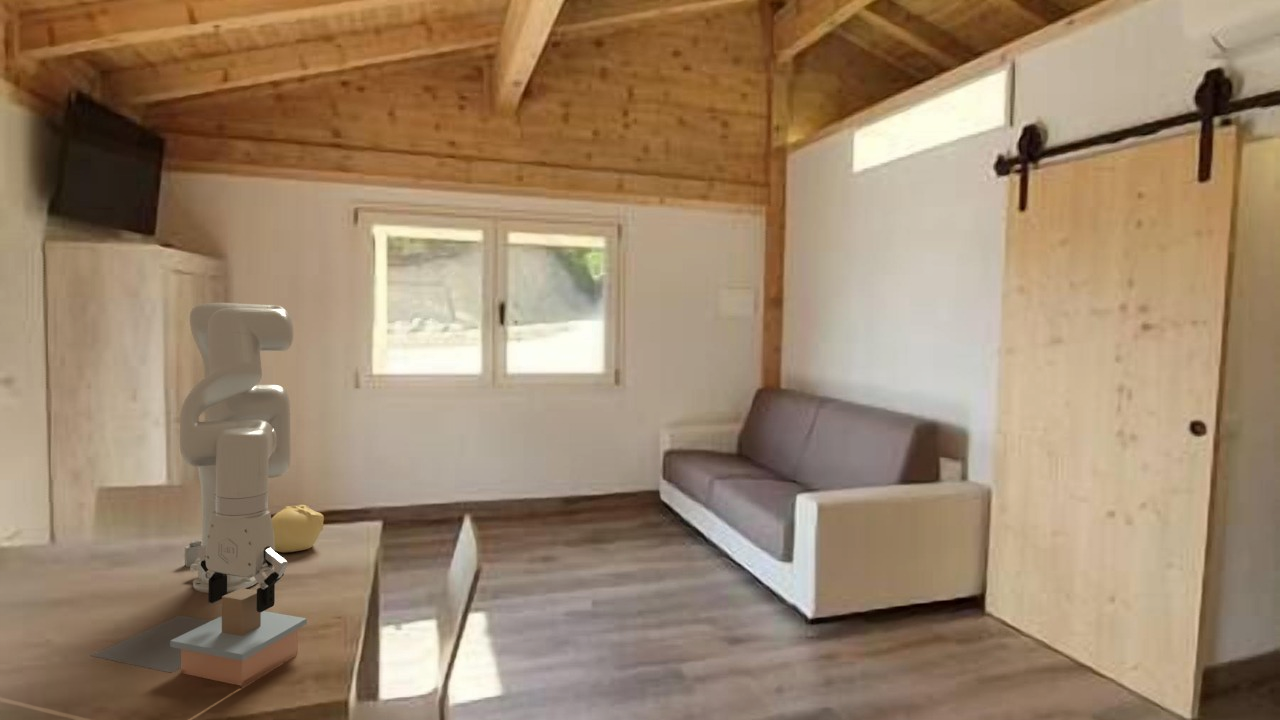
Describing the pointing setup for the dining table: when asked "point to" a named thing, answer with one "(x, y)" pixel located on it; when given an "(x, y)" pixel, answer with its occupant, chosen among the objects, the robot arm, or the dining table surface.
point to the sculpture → (296, 528)
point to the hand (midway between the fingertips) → (241, 604)
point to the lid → (239, 629)
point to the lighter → (192, 552)
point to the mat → (153, 645)
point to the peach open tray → (240, 662)
